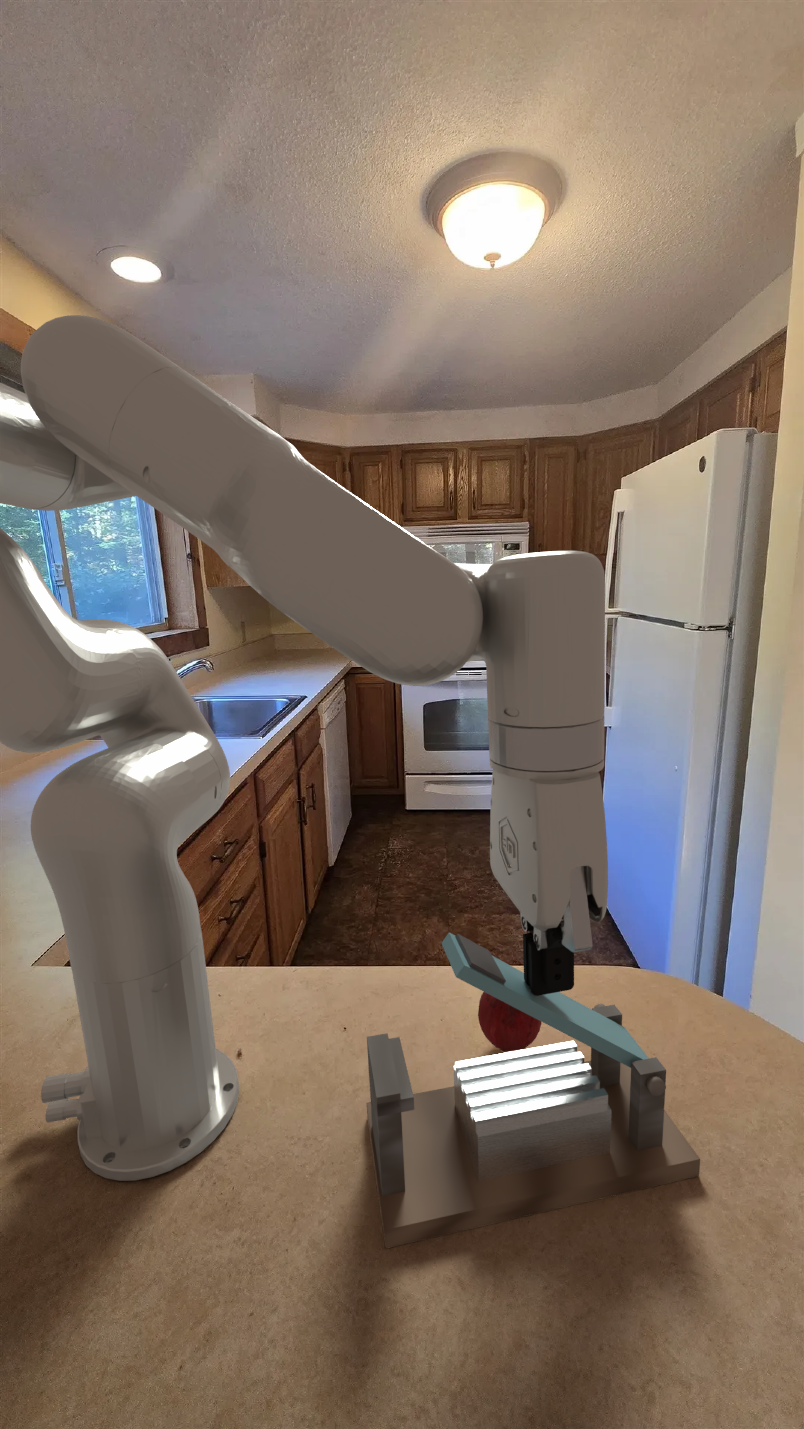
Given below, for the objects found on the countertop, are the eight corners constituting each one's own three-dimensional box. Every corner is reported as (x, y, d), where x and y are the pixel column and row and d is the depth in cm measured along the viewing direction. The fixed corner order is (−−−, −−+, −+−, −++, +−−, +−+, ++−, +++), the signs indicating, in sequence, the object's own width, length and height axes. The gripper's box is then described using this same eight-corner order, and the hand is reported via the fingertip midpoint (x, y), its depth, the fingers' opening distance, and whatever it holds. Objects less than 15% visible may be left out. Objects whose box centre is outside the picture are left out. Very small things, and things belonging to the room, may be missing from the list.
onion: (542, 1077, 51) (542, 997, 50) (476, 1069, 52) (474, 990, 51) (540, 1029, 57) (540, 956, 55) (481, 1023, 58) (479, 951, 56)
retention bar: (455, 977, 39) (466, 961, 39) (441, 943, 43) (451, 929, 43) (646, 1076, 43) (656, 1062, 43) (617, 1037, 47) (627, 1024, 47)
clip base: (385, 1248, 38) (378, 1127, 36) (367, 1118, 48) (360, 1017, 46) (699, 1176, 42) (706, 1062, 40) (623, 1068, 52) (627, 973, 50)
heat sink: (478, 1181, 41) (477, 1127, 40) (454, 1105, 47) (453, 1057, 46) (610, 1152, 42) (611, 1100, 42) (570, 1082, 49) (570, 1036, 48)
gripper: (460, 726, 46) (469, 937, 49) (537, 781, 31) (542, 1075, 35) (550, 717, 47) (553, 924, 50) (664, 766, 32) (657, 1052, 36)
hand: (548, 985), depth 42 cm, fingers closed
